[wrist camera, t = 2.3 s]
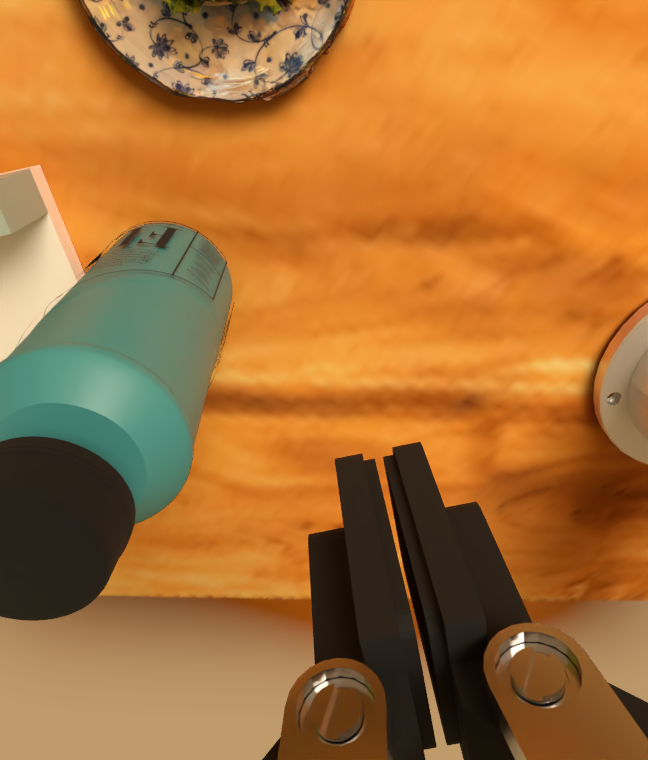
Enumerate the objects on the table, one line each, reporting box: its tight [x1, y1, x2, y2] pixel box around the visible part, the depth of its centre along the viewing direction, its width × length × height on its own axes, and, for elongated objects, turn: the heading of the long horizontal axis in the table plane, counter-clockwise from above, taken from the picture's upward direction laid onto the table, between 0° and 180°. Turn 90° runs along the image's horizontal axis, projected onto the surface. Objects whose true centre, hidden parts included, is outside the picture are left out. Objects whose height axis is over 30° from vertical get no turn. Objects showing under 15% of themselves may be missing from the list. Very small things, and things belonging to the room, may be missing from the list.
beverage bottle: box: [0, 221, 234, 620], centre depth 21 cm, size 6×7×20 cm
